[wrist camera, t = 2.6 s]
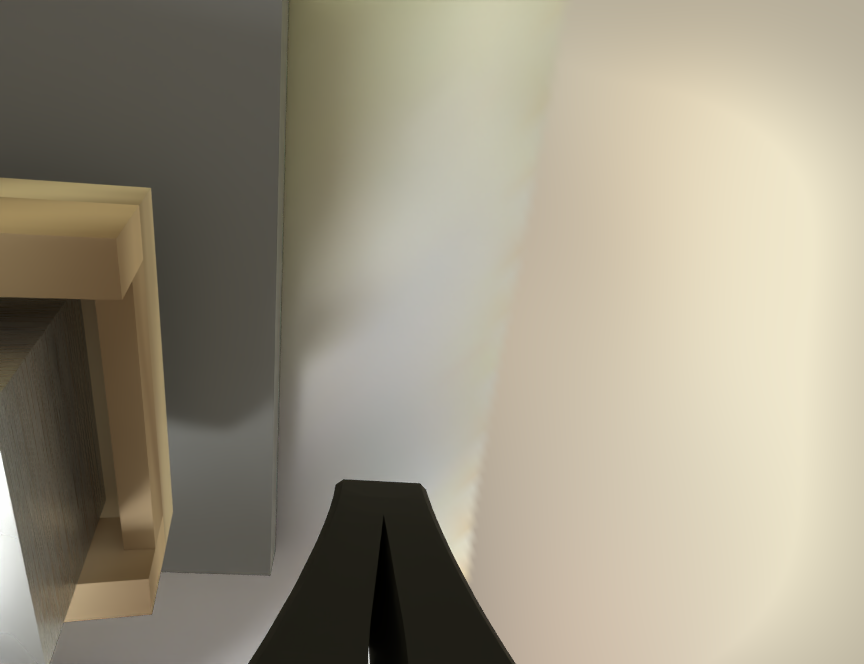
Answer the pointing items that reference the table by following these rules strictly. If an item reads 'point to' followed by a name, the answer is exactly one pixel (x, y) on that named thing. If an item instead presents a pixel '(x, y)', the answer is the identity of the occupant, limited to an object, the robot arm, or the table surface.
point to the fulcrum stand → (179, 221)
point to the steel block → (44, 471)
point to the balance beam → (105, 366)
